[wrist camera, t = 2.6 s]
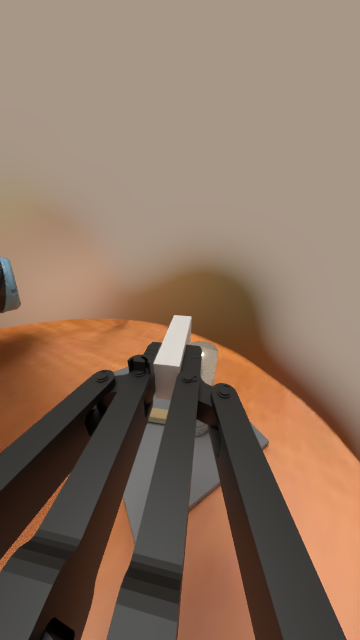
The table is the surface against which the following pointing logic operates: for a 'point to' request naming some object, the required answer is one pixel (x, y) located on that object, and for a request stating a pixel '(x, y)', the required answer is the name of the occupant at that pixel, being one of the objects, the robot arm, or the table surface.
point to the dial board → (143, 467)
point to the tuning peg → (206, 375)
